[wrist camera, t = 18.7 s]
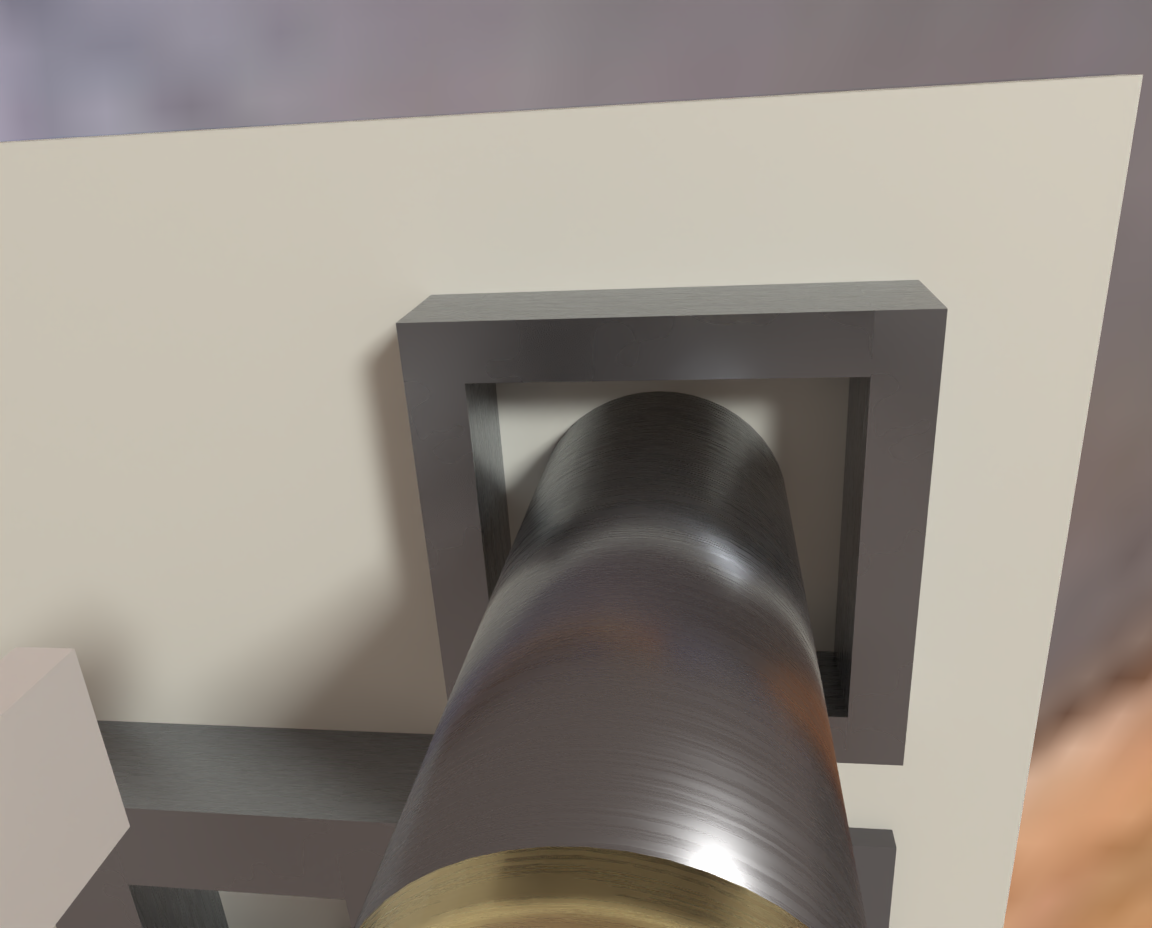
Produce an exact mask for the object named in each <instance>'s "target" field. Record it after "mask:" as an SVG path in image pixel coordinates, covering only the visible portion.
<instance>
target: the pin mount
mask: <svg viewBox="0 0 1152 928" xmlns="http://www.w3.org/2000/svg"><path fill="white" fill-rule="evenodd" d="M97 722H98V726H99V729H100V732H101V735H102V738H103V742H104V745H105V748H106V751H107V754H108V758H109V761H110V764H111V767H112V770H113V774H114V777H115V780H116V783H117V786H118V790H119V793H120V796H121V799H122V802H123V806H124V809H125V812H126V815H127V818H128V821H129V825H130V827H129V829H128V830H127V831H126V832H125V834H124V835H123V836H122V838H121V839H120V840H119V842H118V843H117V844H116V846H115V847H114V848H113V850H112V851H111V852H110V854H109V855H108V856H107V858H106V859H105V860H104V861H103V863H102V864H101V865H100V867H99V868H98V869H97V871H96V872H95V873H94V875H93V876H92V877H91V879H90V880H89V881H88V883H87V884H86V885H85V886H84V888H83V889H82V890H81V892H80V893H79V894H78V896H77V897H76V898H75V900H74V901H73V902H72V904H71V905H70V906H69V908H68V909H67V910H66V911H65V913H64V914H63V915H62V917H61V918H60V919H59V921H58V922H57V923H56V928H229V927H228V923H227V920H226V916H225V913H224V909H223V905H222V902H221V898H220V895H219V891H228V892H242V893H257V894H271V895H285V896H300V897H314V898H329V899H343V900H346V904H347V909H348V914H349V918H350V923H351V928H354V926H355V924H356V921H357V919H358V916H359V914H360V912H361V909H362V907H363V904H364V902H365V900H366V897H367V895H368V892H369V890H370V887H371V885H372V883H373V880H374V878H375V875H376V873H377V871H378V868H379V866H380V863H381V861H382V859H383V856H384V854H385V851H386V849H387V846H388V844H389V842H390V839H391V837H392V834H393V832H394V830H395V827H396V825H397V822H398V820H399V818H400V815H401V813H402V810H403V808H404V806H405V803H406V801H407V798H408V796H409V793H410V791H411V789H412V786H413V784H414V781H415V779H416V777H417V774H418V772H419V769H420V767H421V765H422V762H423V760H424V757H425V755H426V753H427V750H428V748H429V745H430V743H431V740H432V738H433V736H434V734H414V733H390V732H366V731H342V730H318V729H294V728H269V727H245V726H221V725H197V724H173V723H149V722H124V721H100V720H97Z"/></svg>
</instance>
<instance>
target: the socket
mask: <svg viewBox="0 0 1152 928" xmlns="http://www.w3.org/2000/svg"><path fill="white" fill-rule="evenodd" d="M947 311H948V308H947V307H946V306H945V305H944V304H943V303H942V302H941V301H940V300H939V299H938V298H937V297H936V296H935V295H934V294H933V293H932V292H931V291H930V290H929V289H928V288H927V287H926V286H925V285H924V284H922V283H921V282H920V281H919V280H895V281H863V282H830V283H798V284H765V285H732V286H700V287H667V288H635V289H602V290H570V291H537V292H505V293H472V294H440V295H430V296H429V297H428V298H426V299H425V300H424V301H423V302H421V303H420V304H419V305H418V306H416V307H415V308H414V309H413V310H411V311H410V312H409V313H408V314H406V315H405V316H404V317H403V318H401V319H400V320H399V321H398V322H396V330H397V337H398V344H399V351H400V359H401V366H402V373H403V381H404V388H405V395H406V402H407V410H408V417H409V424H410V432H411V439H412V446H413V453H414V461H415V468H416V475H417V482H418V490H419V497H420V504H421V512H422V519H423V526H424V533H425V541H426V548H427V555H428V563H429V570H430V577H431V584H432V592H433V599H434V606H435V613H436V621H437V628H438V635H439V643H440V650H441V657H442V664H443V672H444V679H445V686H446V694H447V701H448V699H449V697H450V695H451V692H452V690H453V687H454V685H455V683H456V680H457V678H458V675H459V673H460V671H461V668H462V666H463V663H464V661H465V659H466V656H467V654H468V651H469V649H470V646H471V644H472V642H473V639H474V637H475V634H476V632H477V630H478V627H479V625H480V622H481V620H482V618H483V615H484V613H485V610H486V608H487V605H488V603H489V601H490V598H491V596H492V593H493V591H494V589H495V586H496V584H497V581H498V579H499V577H500V574H501V572H502V569H503V567H504V565H505V562H506V560H507V557H508V555H509V552H510V550H511V537H510V527H509V517H508V507H507V496H506V486H505V476H504V465H503V455H502V445H501V435H500V424H499V414H498V404H497V393H496V383H524V382H586V381H648V380H710V379H772V378H834V377H850V380H849V397H848V414H847V432H846V449H845V467H844V484H843V501H842V519H841V536H840V553H839V571H838V588H837V605H836V623H835V640H834V652H831V651H816V654H817V660H818V665H819V670H820V676H821V681H822V687H823V692H824V697H825V703H826V708H827V713H828V719H829V724H830V729H831V735H832V740H833V746H834V751H835V756H836V762H837V763H853V764H876V765H899V766H903V763H904V752H905V742H906V732H907V721H908V711H909V701H910V691H911V680H912V670H913V660H914V650H915V639H916V629H917V619H918V609H919V598H920V588H921V578H922V568H923V557H924V547H925V537H926V527H927V516H928V506H929V496H930V486H931V475H932V465H933V455H934V445H935V434H936V424H937V414H938V404H939V393H940V383H941V373H942V363H943V352H944V342H945V332H946V322H947Z"/></svg>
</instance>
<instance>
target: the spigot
mask: <svg viewBox="0 0 1152 928" xmlns="http://www.w3.org/2000/svg"><path fill="white" fill-rule="evenodd" d="M354 928H867V923H866V917H865V912H864V906H863V901H862V896H861V890H860V885H859V880H858V874H857V869H856V864H855V858H854V853H853V847H852V842H851V837H850V831H849V826H848V821H847V815H846V810H845V805H844V799H843V794H842V788H841V783H840V778H839V772H838V767H837V762H836V756H835V751H834V746H833V740H832V735H831V729H830V724H829V719H828V713H827V708H826V703H825V697H824V692H823V687H822V681H821V676H820V670H819V665H818V660H817V654H816V649H815V644H814V638H813V633H812V628H811V622H810V617H809V611H808V606H807V601H806V595H805V590H804V585H803V579H802V574H801V569H800V563H799V558H798V553H797V547H796V542H795V536H794V531H793V526H792V520H791V515H790V510H789V504H788V499H787V494H786V488H785V483H784V478H783V476H782V473H781V470H780V467H779V464H778V462H777V461H776V459H775V457H774V455H773V453H772V451H771V449H770V448H769V447H768V445H767V444H766V442H765V441H764V440H763V438H762V437H761V436H760V435H759V434H758V433H757V432H756V431H755V430H754V429H753V428H752V427H751V426H750V425H749V424H748V423H747V422H745V421H744V420H743V419H742V418H741V417H739V416H738V415H736V414H735V413H733V412H731V411H730V410H728V409H727V408H725V407H723V406H721V405H719V404H716V403H714V402H712V401H710V400H707V399H704V398H701V397H697V396H694V395H690V394H684V393H678V392H665V391H654V392H641V393H636V394H631V395H626V396H623V397H620V398H617V399H614V400H611V401H608V402H606V403H604V404H602V405H600V406H598V407H596V408H594V409H593V410H591V411H590V412H588V413H587V414H585V415H584V416H582V417H581V418H580V419H579V420H578V421H577V422H575V423H574V424H573V425H572V426H571V427H570V428H569V429H568V430H567V431H566V432H565V434H564V435H563V436H562V437H561V438H560V440H559V441H558V443H557V444H556V446H555V447H554V449H553V451H552V452H551V455H550V457H549V459H548V461H547V463H546V466H545V468H544V471H543V473H542V475H541V478H540V480H539V483H538V485H537V487H536V490H535V492H534V495H533V497H532V499H531V502H530V504H529V507H528V509H527V511H526V514H525V516H524V519H523V521H522V524H521V526H520V528H519V531H518V533H517V536H516V538H515V540H514V543H513V545H512V548H511V550H510V552H509V555H508V557H507V560H506V562H505V565H504V567H503V569H502V572H501V574H500V577H499V579H498V581H497V584H496V586H495V589H494V591H493V593H492V596H491V598H490V601H489V603H488V605H487V608H486V610H485V613H484V615H483V618H482V620H481V622H480V625H479V627H478V630H477V632H476V634H475V637H474V639H473V642H472V644H471V646H470V649H469V651H468V654H467V656H466V659H465V661H464V663H463V666H462V668H461V671H460V673H459V675H458V678H457V680H456V683H455V685H454V687H453V690H452V692H451V695H450V697H449V699H448V702H447V704H446V707H445V709H444V712H443V714H442V716H441V719H440V721H439V724H438V726H437V728H436V731H435V733H434V736H433V738H432V740H431V743H430V745H429V748H428V750H427V753H426V755H425V757H424V760H423V762H422V765H421V767H420V769H419V772H418V774H417V777H416V779H415V781H414V784H413V786H412V789H411V791H410V793H409V796H408V798H407V801H406V803H405V806H404V808H403V810H402V813H401V815H400V818H399V820H398V822H397V825H396V827H395V830H394V832H393V834H392V837H391V839H390V842H389V844H388V846H387V849H386V851H385V854H384V856H383V859H382V861H381V863H380V866H379V868H378V871H377V873H376V875H375V878H374V880H373V883H372V885H371V887H370V890H369V892H368V895H367V897H366V900H365V902H364V904H363V907H362V909H361V912H360V914H359V916H358V919H357V921H356V924H355V926H354Z"/></svg>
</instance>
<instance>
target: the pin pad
mask: <svg viewBox="0 0 1152 928" xmlns="http://www.w3.org/2000/svg"><path fill="white" fill-rule="evenodd" d="M849 831H850V837H851V842H852V847H853V853H854V858H855V864H856V869H857V874H858V880H859V885H860V890H861V896H862V901H863V906H864V912H865V917H866V923H867V928H889V921H890V910H891V900H892V890H893V880H894V870H895V860H896V849H897V847H896V843H895V839H894V835H893V831H892V830H889V829H870V828H852V827H849Z"/></svg>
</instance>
